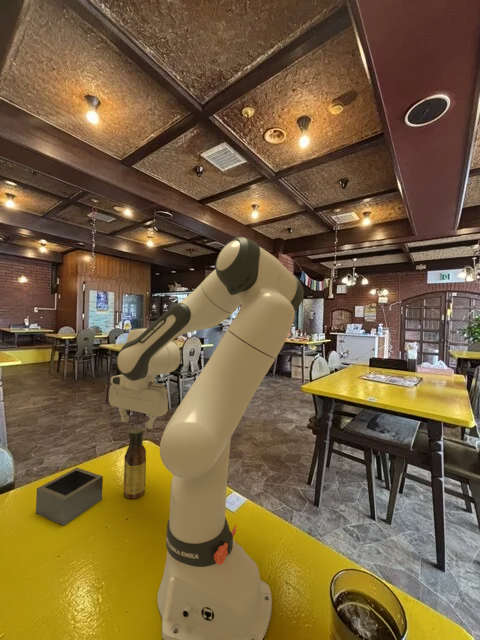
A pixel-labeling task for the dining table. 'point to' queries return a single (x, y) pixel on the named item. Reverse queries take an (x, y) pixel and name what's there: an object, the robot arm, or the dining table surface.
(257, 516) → the dining table surface
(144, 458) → the sauce bottle
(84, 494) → the condiment sleeve
